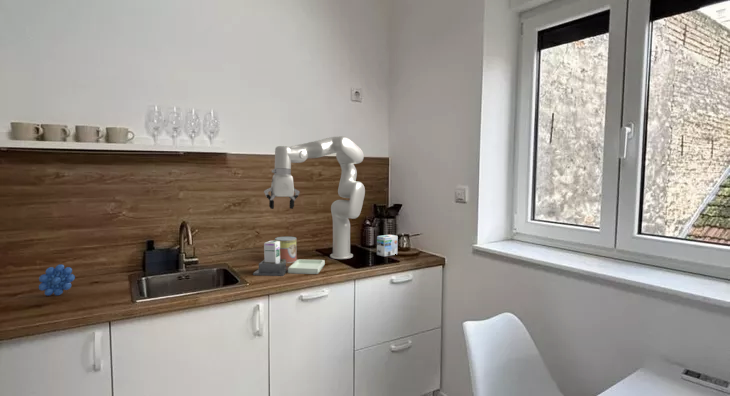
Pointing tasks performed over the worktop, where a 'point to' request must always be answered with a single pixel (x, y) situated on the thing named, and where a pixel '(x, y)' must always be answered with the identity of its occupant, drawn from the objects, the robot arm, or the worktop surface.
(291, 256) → the canned food
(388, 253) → the light bulb box
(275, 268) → the sleeve holder
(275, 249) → the syrup box
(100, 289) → the worktop surface
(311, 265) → the tray
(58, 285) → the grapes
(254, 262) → the worktop surface
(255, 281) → the worktop surface
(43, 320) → the worktop surface
